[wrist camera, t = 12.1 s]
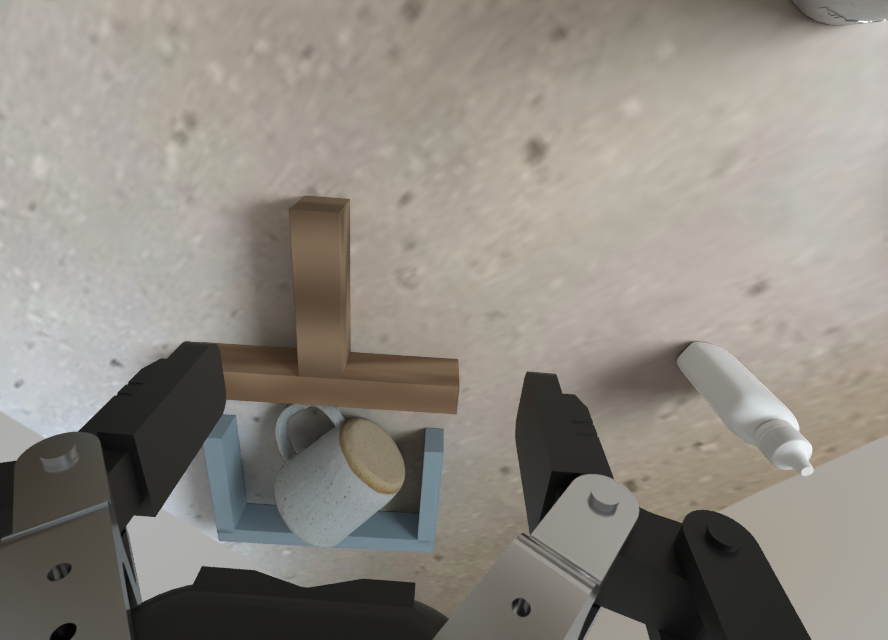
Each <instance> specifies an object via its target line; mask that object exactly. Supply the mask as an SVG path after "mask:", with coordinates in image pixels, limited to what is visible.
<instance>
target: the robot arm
mask: <svg viewBox="0 0 888 640" xmlns="http://www.w3.org/2000/svg"><path fill="white" fill-rule="evenodd" d="M792 1H793V3H794V4H795V5H796V6H797V7H798V8H799V9H800V10H801V11H802V12H803V13H804V14H805V15H807V16H809V17H810V18H812V19H814V20H816V21H817V22H821V23H826V24H830V25H851V24H858V23H859V24H860V23H871V22H878V21H884V20H888V0H792ZM225 404H226V387H225V381H224V374H223V367H222V360H221V353H220V349H219V347H218V345H217V344H212V343H201V342H189V341H185V342H183V343H182V344H181V345H180V346H179V347H178V348H177V349H176V350H175V351H174V352H173V353H172V354H171V355H170V356H169V357H168V358H167V359H162V358H161V359H159V360H157V361H156V362H154V363H152V364H150V365H148V366H146V367H144V368H143V369H141V370H140V371H139V372H138V373H137V374H136V375H135V376H134V377H133V378H132V379H131V380H130V381H129V382H128V385H125V386H124V387H123V388H122V389H121V390H120V391H119V392H118V393H117V396H114V397H113V398H112V399H111V400H110V401H109V402H108V403H107V404H106V405H105V406H104V407H102V408H101V409H100V410H99V411H98V412H97V413H96V414H95V415H94V416H93V417H92V418H91V419H90V420H89V421H88V422H87V423H86V424H85V425H84V426H83V427H82V428H81V429H80V430H79V431H78V432H68V433H63V434H58V435H55V436H52V437H49V438H47V439H44V440H42V441H40V442H38V443H36V444H34V445H33V446H31V447H30V448H29V449H27V450H26V451H25V452H24V453H23V454H21V456H20V457H19V458H18V459H17V461H11V462H4V463H0V640H585V639H586V637H587V635H588V633H589V632H590V630H591V628H592V626H593V624H594V622H595V620H596V618H597V617H598V615H599V613H600V611H601V609H602V607H604V608H607V609H609V610H611V611H614V612H616V613H619V614H621V615H624V616H626V617H629V618H631V619H634V620H636V621H639V622H642V623H644V624H646V628H647V631H648V635H649V639H650V640H811V638H810V636H809V634H808V633H807V631H806V629H805V627H804V625H803V624H802V622H801V620H800V618H799V616H798V615H797V613H796V611H795V609H794V607H793V606H792V604H791V602H790V600H789V598H788V597H787V595H786V593H785V591H784V589H783V588H782V586H781V584H780V582H779V580H778V579H777V577H776V575H775V573H774V571H773V570H772V568H771V566H770V564H769V562H768V561H767V559H766V557H765V555H764V553H763V551H762V550H761V548H760V546H759V544H758V543H757V541H756V540H755V538H754V537H753V536H752V535H751V533H750V532H748V530H746V529H745V528H744V527H743V526H742V525H740V524H739V523H738V522H736V521H734V520H733V519H731V518H729V517H727V516H725V515H723V514H720V513H717V512H714V511H709V510H696V511H693V512H690V513H689V514H687V516H686V517H685V518H684V520H683V523H680V522H677V521H674V520H671V519H668V518H665V517H662V516H659V515H656V514H653V513H651V512H648V511H646V510H644V509H642V508H640V507H639V505H638V503H637V500H636V498H635V497H634V495H633V494H632V493H631V492H630V491H629V490H628V489H627V488H626V487H625V486H624V485H622V484H621V483H619V482H618V481H616V480H614V478H613V475H612V472H611V470H610V467H609V464H608V462H607V459H606V456H605V453H604V451H603V448H602V445H601V443H600V440H599V437H597V432H596V429H595V427H594V425H593V421H592V419H591V416H590V413H589V411H588V408H587V407H586V406H585V405H584V404H583V403H582V402H581V401H580V400H579V399H578V397H577V396H576V395H572V394H562V391H561V388H560V384H559V381H558V378H557V375H556V374H550V373H539V372H527V373H526V375H525V378H524V383H523V388H522V393H521V398H520V403H519V409H518V414H517V419H516V429H515V438H516V447H517V453H518V460H519V466H520V473H521V479H522V486H523V492H524V499H525V506H526V512H527V519H528V525H529V532H530V536H529V537H528V536H527V535H525V534H524V533H522V534H520V535H518V536H517V537H516V538H515V539H514V541H513V542H512V543H511V544H510V545H509V547H508V548H507V549H506V550H505V551H504V553H503V554H502V555H501V556H500V558H499V559H498V560H497V561H496V562H495V564H494V565H493V566H492V567H491V569H490V570H489V571H488V572H487V573H486V575H485V576H484V577H483V578H482V580H481V581H480V582H479V583H478V584H477V586H476V587H475V588H474V589H473V591H472V592H471V593H470V594H469V595H468V597H467V598H466V599H465V600H464V602H463V603H462V604H461V605H460V606H459V608H458V609H457V610H456V611H455V613H454V614H453V615H452V616H451V617H450V619H448V618H447V617H446V616H444V615H443V614H441V613H440V612H438V611H437V610H435V609H433V608H431V607H429V606H428V605H426V604H423V603H421V602H418V601H415V600H414V595H415V583H412V582H399V581H386V580H373V579H359V580H353V581H347V582H341V583H335V584H328V585H322V586H316V587H309V588H306V587H300V586H297V585H295V584H292V583H289V582H286V581H283V580H281V579H278V578H275V577H272V576H269V575H266V574H264V573H261V572H258V571H255V570H244V569H231V568H218V567H217V568H216V567H205V566H204V567H203V566H202V567H201V569H200V572H199V573H198V576H197V577H196V579H195V581H194V583H193V585H187V586H184V587H180V588H176V589H173V590H170V591H167V592H165V593H162V594H159V595H157V596H155V597H153V598H151V599H148V600H146V601H144V602H142V598H141V594H140V588H139V583H138V578H137V573H136V569H135V563H134V558H133V553H132V548H131V544H130V538H129V534H128V531H127V527H126V526H127V524H128V523H129V521H130V520H131V518H132V517H133V516H134V515H136V516H149V517H156V515H157V514H158V512H159V510H160V509H161V508H162V506H163V504H164V503H165V501H166V500H167V498H168V497H169V495H170V494H171V492H172V491H173V489H174V488H175V486H176V485H177V483H178V482H179V480H180V479H181V477H182V476H183V474H184V473H185V471H186V470H187V468H188V466H189V465H190V463H191V462H192V460H193V459H194V457H195V456H196V454H197V453H198V451H199V450H200V448H201V447H202V445H203V444H204V442H205V441H206V439H207V438H208V436H209V435H210V433H211V431H212V430H213V428H214V427H215V425H216V424H217V422H218V421H219V419H220V418H221V416H222V414H223V412H224V408H225Z"/></svg>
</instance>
